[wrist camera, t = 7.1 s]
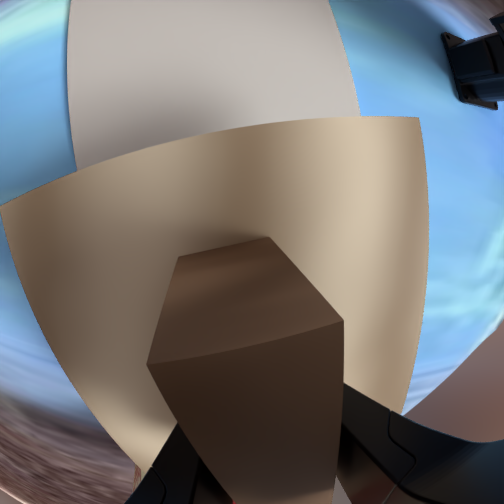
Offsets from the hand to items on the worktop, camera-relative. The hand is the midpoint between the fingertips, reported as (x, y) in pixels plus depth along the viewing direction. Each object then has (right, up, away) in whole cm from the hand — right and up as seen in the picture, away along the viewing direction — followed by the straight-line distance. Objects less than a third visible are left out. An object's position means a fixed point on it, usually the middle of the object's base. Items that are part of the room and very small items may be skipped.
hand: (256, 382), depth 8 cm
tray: (-3, +17, +4) cm, 17 cm away
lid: (0, +1, +2) cm, 2 cm away
